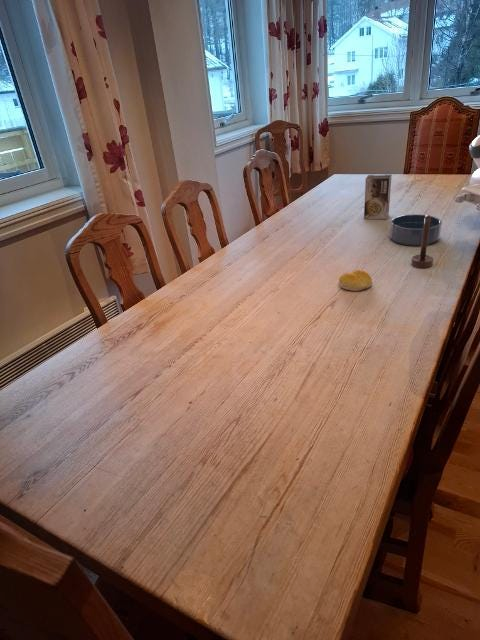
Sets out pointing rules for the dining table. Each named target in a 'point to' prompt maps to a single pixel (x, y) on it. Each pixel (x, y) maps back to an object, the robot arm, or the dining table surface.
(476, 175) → the robot arm
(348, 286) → the bread roll
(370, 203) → the coffee box
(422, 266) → the wooden peg stand
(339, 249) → the dining table surface
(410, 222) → the bowl
